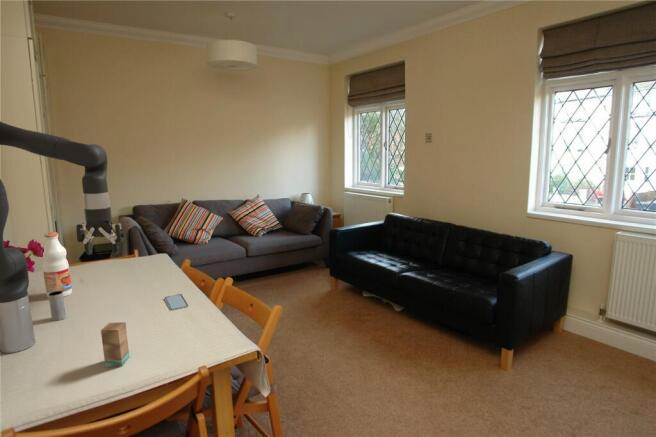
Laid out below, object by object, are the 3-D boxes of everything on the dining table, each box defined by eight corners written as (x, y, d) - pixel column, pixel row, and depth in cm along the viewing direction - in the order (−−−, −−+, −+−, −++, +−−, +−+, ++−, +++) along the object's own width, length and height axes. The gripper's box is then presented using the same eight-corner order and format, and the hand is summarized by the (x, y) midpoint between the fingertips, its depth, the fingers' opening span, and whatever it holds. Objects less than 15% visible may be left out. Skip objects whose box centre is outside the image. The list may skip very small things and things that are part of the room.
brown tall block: (108, 322, 123) (113, 358, 125) (100, 330, 118) (105, 367, 120) (125, 322, 123) (129, 357, 126) (118, 329, 118) (122, 366, 121)
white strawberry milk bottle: (49, 292, 179) (40, 232, 173) (73, 289, 183) (65, 230, 177) (44, 300, 171) (35, 237, 165) (70, 296, 174) (62, 234, 169)
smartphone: (170, 310, 160) (163, 297, 172) (170, 312, 160) (164, 299, 172) (189, 306, 163) (181, 293, 176) (189, 308, 163) (181, 295, 176)
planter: (64, 314, 156) (61, 290, 154) (67, 318, 153) (63, 293, 151) (50, 318, 153) (47, 293, 151) (53, 322, 150) (49, 296, 148)
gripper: (124, 204, 134) (129, 250, 137) (82, 204, 134) (87, 251, 137) (113, 208, 127) (118, 257, 130) (68, 208, 126) (74, 257, 130)
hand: (102, 254), depth 133 cm, fingers open, 8 cm apart
